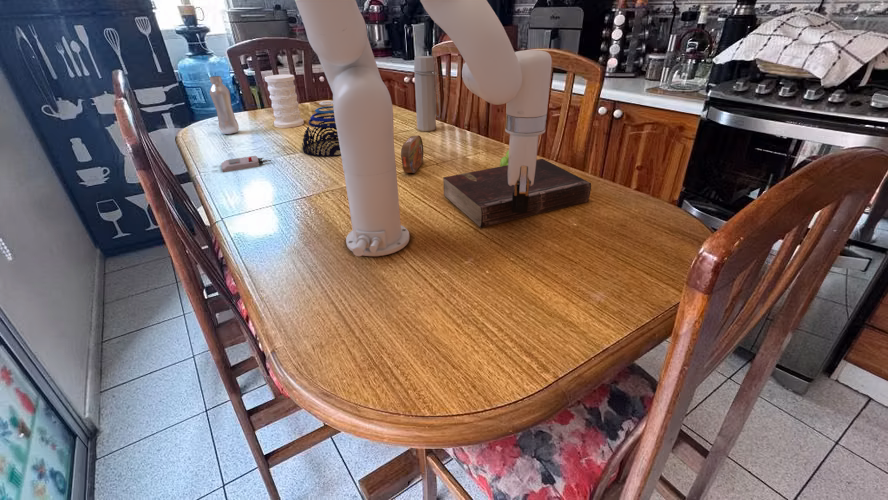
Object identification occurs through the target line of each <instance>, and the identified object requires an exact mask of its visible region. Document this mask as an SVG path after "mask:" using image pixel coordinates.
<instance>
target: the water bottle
mask: <svg viewBox="0 0 888 500" xmlns="http://www.w3.org/2000/svg"><path fill="white" fill-rule="evenodd" d="M413 62H414V63H413V65H414V66H413V73H415V74H414V91H415V93H414V94H415V112H416V113H415V114H416V130H418V131H420V132H433V131H434V130H436V128H437V122H436V121H437V119H436V118H440V117H441V102H440V95H439V88H438V87H439V86H438V80H437V77H438V72H437V71H435V60H434V55H433V56H431V55H419V56H414V61H413ZM437 99H438V100H437ZM437 103H438V111H439V113H438V114H437Z"/></svg>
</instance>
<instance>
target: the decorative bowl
mask: <svg viewBox="0 0 888 500" xmlns="http://www.w3.org/2000/svg"><path fill="white" fill-rule="evenodd" d="M318 105H319V106H321V107H318V108H317V107H316V109H314V112H315V113H314V114H312V115H311V116H310V118H309V120H308V122H307V123H308V126H307V127H306V129H305V131H304V134H303V138H302V143H301V147H302V151H303V153H304V154H306V155H308V156H311V157H318V158H319V157H321V158H322V157H324V158H326V157H327V158H329V157H341V153H339V154H336V152H338V151H339V152H340V145H339V139H338V133H337V128H336V123H335V117H334V109H333V100H325V101H320V102H318ZM324 109H331V110H324ZM328 114H329V115H328ZM312 122H318V123H312ZM310 127H312V130H310ZM328 150H329V151H328Z"/></svg>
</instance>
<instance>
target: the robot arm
mask: <svg viewBox="0 0 888 500" xmlns="http://www.w3.org/2000/svg"><path fill="white" fill-rule="evenodd" d="M294 2H295V5H296V7H297V10H298V12H299V16H300V19H301V21H302V23H303V26H304V29H305V33H306V37H307V41H308V42H309V45H310V47H311V49H312V50H313V52H314V53H315V54H316V56H317V58H318V60H319V63H320V65H321V69H322V70H323V73H324V75H325V78H326V80H327V83H328V85H329V87H330V91H331V93H332V101H333V104H332V106H333V108H332V110H334V113H333V115H334V117H335V122H334V123H336V128H337V130H336V131H337V133H338V139H339V140H338V142H339V143H338V145H340V150H339V152H340V154H341V156H340V158H341V165H342V170H343V176H344V182H345V189H346V195H347V202H348V209H349V216H350V222H351V228H352V230H351V231H349V232H348V234H347V236H346V238H345V245H346V247H347V249H348V250H349V251H350V252H352V254H353V255H354V256H356V257H362V256H364V257H365V256H366V257H383V256H387V255H391V254H394V253H397V252H399V251H401V250H403V249H404V248H405V247H406V246H407V245H408V244H409V242H410V232H409V229H408V228H407V227H405V226H404V225H402V222H401V210H400V209H401V208H400V199H399V198H400V197H399V186H398V185H399V184H398V173H397V164H396V163H397V162H396V153H395V135H394V134H395V133H394V132H395V131H394V129H395V128H394V108H393V101H392V97H391V94H390V91H389V90H388V89H389V88H388V87H387V85H386V84H385V82H384V81H383V79H382V77H381V73H380V70H379V67H378V65H377V62H376V58H375V55H374V53H373V50H372V46H371V43H370V40H369V37H368V29H367V24H366V21H365V19H364V16H363V14H362V13H361V10H360V8H359V5H358V2H357V0H294ZM419 2H420V3H421V5H422V7H423V9H424V10H425V12H426V13H427V15H428V16H429V17H430V18H431V20H432V21H433V22H434V23H435V24H436V25H437V26H438V27H439V28H441V29H442V31H443V32H444V33H445V34H446V35H447V36H448V37H449V39H450V41H452V43H453V44H454V46H455V47H456V49H457V50H458V53H459V54H460V55H461V57H462V59H463V61H464V63H463V66H462V69H461V77H462V82H463V84H464V85H465V87H466V88H467V89H468V90H469V91H470V93H472V94H474V95H475V96H477V97H478V98H481V99H482V100H484V101H485V102H487V103H489V104H491V105H497V106H499V105H505V104H506V106H505V107H506V108H505V124H504V125H505V127H504V128H505V129H504V130H505V131H504V132H505V133H507V135H509V143H508V150H509V157H508V184H509V185H510V186H512V185H514V192H513V195H512V212H513V213H527V210H528V198H529V194H528V189H529V185H530V186H532V185H533V183H534V176H535V169H536V160H538V159H537V158H538V148H539V147H538V146H539V136H540V135H543V134H545V133H546V128H547V117H548V108H549V107H548V105H549V96H550V85H551V75H552V65H553V64H552V63H553V59H552V55H551V54H550V53H549V52H547V51H546V50H539V49H525V50H524V49H523V50H518V51H515V49H514V48H513V45H512V42H511V40H510V38H509V36H508V34H507V32H506V30H505V27H504V26H503V24H502V22H501V20H500V18H499V17H498V15H497V14H496V12H495V11H494V9H493V7H492V6H491V4H490V3H489V2H488V0H419ZM334 117H333V118H334Z"/></svg>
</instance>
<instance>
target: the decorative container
mask: <svg viewBox="0 0 888 500" xmlns="http://www.w3.org/2000/svg"><path fill="white" fill-rule="evenodd" d="M295 80H296V78H295V75H294V74H289V73H285V74H283V73H282V74H273V75H272V74H271V75H267V76H265V77H264V82H265V83H267V91H268V92H269V99H270V101H271V108H272V109H273V117H274V119H275V120H274V121H273V127H275V128H280V129H288V128H295V127H299V126H302V125H304V124H305V121H304V118H301V111H300V109H299V105H300V103H299V101H298V99H297V98H298V95H297V92H296V85H295V82H294V81H295Z"/></svg>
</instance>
